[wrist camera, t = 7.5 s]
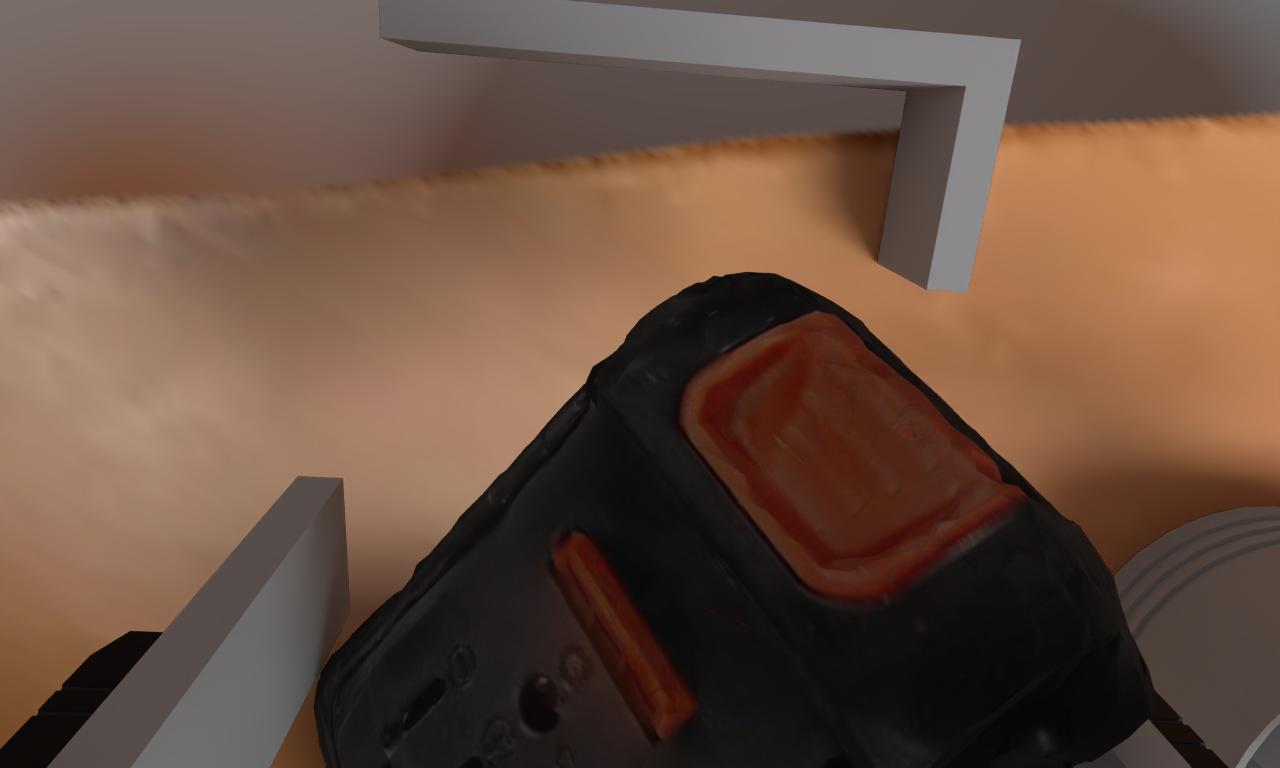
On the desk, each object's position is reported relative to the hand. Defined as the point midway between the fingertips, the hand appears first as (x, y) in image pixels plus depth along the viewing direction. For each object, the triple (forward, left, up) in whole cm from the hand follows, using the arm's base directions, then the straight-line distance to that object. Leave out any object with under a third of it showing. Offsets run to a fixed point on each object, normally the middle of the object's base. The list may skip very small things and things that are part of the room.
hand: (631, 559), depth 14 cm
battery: (0, 0, -1) cm, 1 cm away
